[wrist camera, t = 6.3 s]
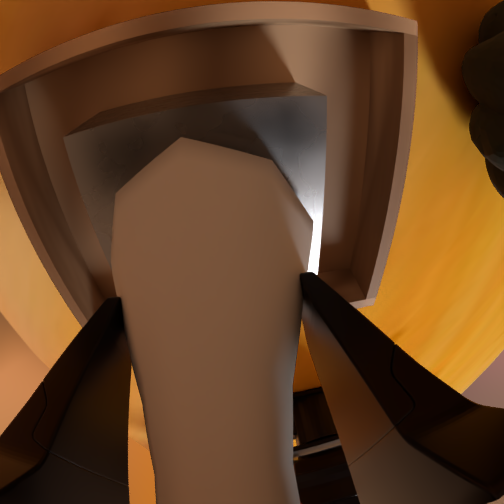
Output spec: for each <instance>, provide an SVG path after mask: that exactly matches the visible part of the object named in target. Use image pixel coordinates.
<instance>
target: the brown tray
mask: <svg viewBox="0 0 504 504" xmlns="http://www.w3.org/2000/svg"><path fill="white" fill-rule="evenodd" d="M417 59H418V26H417V21H415V20H412V19H408V18H404V17H400V16H396V15H391V14H387V13H382V12H377V11H372V10H367V9H361V8H355V7H348V6H340V5H332V4H322V3H309V2H288V1H258V2H236V3H224V4H213V5H205V6H197V7H190V8H184V9H178V10H173V11H167V12H162V13H158V14H153V15H149V16H144V17H140V18H136V19H133V20H129V21H125V22H122V23H118V24H115V25H112V26H108V27H105V28H102V29H99V30H96V31H93V32H91V33H88V34H85V35H82V36H80V37H77V38H75V39H72V40H70V41H67V42H65V43H62V44H60V45H58V46H55V47H53V48H51V49H49V50H47V51H44V52H42V53H40V54H38V55H36V56H34V57H32V58H30V59H28V60H26V61H24V62H23V63H21V64H19V65H17V66H15V67H13V68H12V69H10V70H8V71H6V72H5V73H3V74H1V75H0V172H1V174H2V177H3V180H4V183H5V185H6V188H7V190H8V193H9V195H10V198H11V200H12V202H13V205H14V207H15V209H16V212H17V214H18V216H19V218H20V221H21V223H22V225H23V227H24V229H25V231H26V233H27V235H28V237H29V239H30V241H31V243H32V245H33V247H34V249H35V251H36V253H37V255H38V257H39V259H40V260H41V262H42V264H43V266H44V268H45V269H46V271H47V273H48V275H49V276H50V278H51V280H52V282H53V283H54V285H55V287H56V288H57V290H58V291H59V293H60V295H61V296H62V298H63V299H64V301H65V303H66V304H67V306H68V307H69V309H70V310H71V312H72V313H73V315H74V316H75V318H76V319H77V321H78V322H79V324H80V325H81V326H82V328H83V327H84V325H85V324H86V323H87V322H88V320H89V319H90V318H91V317H92V316H93V314H94V313H95V312H96V311H97V309H98V308H99V307H100V306H101V305H102V303H103V302H104V301H105V300H106V299H107V298H109V297H117V294H116V290H115V285H114V279H113V274H112V270H111V268H110V266H109V263H108V261H107V259H106V257H105V254H104V252H103V250H102V247H101V245H100V243H99V240H98V238H97V235H96V233H95V230H94V228H93V226H92V223H91V220H90V218H89V215H88V213H87V210H86V207H85V205H84V202H83V199H82V196H81V193H80V191H79V188H78V185H77V182H76V179H75V176H74V173H73V170H72V166H71V163H70V160H69V157H68V153H67V150H66V147H65V143H64V139H63V137H64V136H66V135H67V134H68V133H70V132H71V131H72V130H74V129H75V128H77V127H78V126H79V125H81V124H82V123H84V122H85V121H87V120H88V119H90V118H91V117H93V116H94V115H96V114H97V113H99V112H102V111H105V110H109V109H112V108H116V107H120V106H124V105H128V104H132V103H136V102H140V101H145V100H149V99H154V98H159V97H164V96H169V95H174V94H180V93H186V92H192V91H199V90H206V89H213V88H221V87H230V86H240V85H252V84H267V83H290V82H296V83H298V84H301V85H303V86H306V87H308V88H310V89H313V90H315V91H317V92H320V93H322V94H324V95H326V96H327V136H326V165H325V186H324V203H323V217H322V230H321V242H320V254H319V264H318V274H317V276H319V277H320V278H321V279H322V280H323V281H324V282H326V283H327V284H328V285H329V286H330V287H331V288H333V289H334V290H335V291H336V292H337V293H338V294H340V295H341V296H342V297H343V298H344V299H345V300H347V301H348V302H349V303H350V304H351V305H352V306H353V307H355V308H356V309H357V308H361V307H366V306H371V305H374V302H375V299H376V296H377V293H378V289H379V286H380V283H381V279H382V276H383V272H384V269H385V265H386V262H387V258H388V254H389V250H390V247H391V243H392V239H393V235H394V230H395V226H396V222H397V217H398V213H399V208H400V203H401V198H402V193H403V188H404V183H405V177H406V171H407V165H408V159H409V152H410V145H411V137H412V129H413V120H414V110H415V98H416V83H417Z"/></svg>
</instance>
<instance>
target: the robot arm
mask: <svg viewBox="0 0 504 504" xmlns="http://www.w3.org/2000/svg"><path fill="white" fill-rule="evenodd" d="M300 281H301V286H302V292H303V297H304V302H303V310H302V322H303V326H304V331H305V335H306V340H307V344H308V347H309V351H310V354H311V357H312V359H313V362H314V365H315V368H316V371H317V374H318V377H319V380H320V383H321V385H322V388H319V389H315V390H310V391H305V392H300V393H295V394H293V439H296V443H297V446H295V447H293V466H294V472H295V477H296V482H297V488H298V493H299V498H300V502H301V503H302V504H504V409H503V408H496V407H490V406H483V405H480V404H477V403H475V402H473V401H471V400H469V399H467V398H465V397H464V396H462V395H461V394H460V393H458V392H457V391H456V390H454V389H453V388H451V387H450V386H449V385H447V384H446V383H444V382H443V381H442V380H440V379H439V378H437V377H436V376H435V375H433V374H432V373H431V372H429V371H428V370H427V369H425V368H424V367H423V366H421V365H420V364H419V363H418V362H416V361H415V360H414V359H413V358H412V357H411V356H409V355H408V354H407V353H406V352H405V351H404V350H402V349H401V348H400V347H399V346H398V345H397V344H395V343H394V342H393V341H392V340H391V339H390V338H389V337H388V336H387V335H385V334H384V333H383V332H382V331H381V330H380V329H379V328H378V327H376V326H375V325H374V324H373V323H372V322H371V321H370V320H368V319H367V318H366V317H365V316H364V315H363V314H362V313H360V312H359V311H358V310H357V309H356V308H355V307H353V306H352V305H351V304H350V303H349V302H348V301H347V300H345V299H344V298H343V297H342V296H341V295H340V294H338V293H337V292H336V291H335V290H334V289H333V288H331V287H330V286H329V285H328V284H327V283H326V282H324V281H323V280H322V279H321V278H320V277H319V276H317V275H316V274H315V273H314V272H304V273H300ZM394 344H395V345H394ZM131 366H132V362H131V358H130V354H129V349H128V345H127V340H126V336H125V331H124V323H123V315H122V306H121V297H118V296H117V297H109V298H107V299H106V300H105V301H104V302H103V303H102V305H101V306H100V307H99V308H98V309H97V311H96V312H95V313H94V314H93V316H92V317H91V318H90V319H89V320H88V322H87V323H86V324H85V325H84V327H83V328H82V329H81V330H80V332H79V333H78V334H77V335H76V337H75V338H74V339H73V341H72V342H71V343H70V344H69V346H68V347H67V348H66V350H65V351H64V352H63V354H62V355H61V356H60V358H59V359H58V360H57V362H56V363H55V364H54V366H53V367H52V368H51V370H50V371H49V373H48V374H47V375H46V377H45V378H44V380H43V382H41V383H40V385H39V386H38V388H37V389H36V390H35V392H34V393H33V395H32V396H31V397H30V399H29V400H28V401H27V403H26V404H25V406H24V407H23V408H22V409H21V410H20V412H19V413H18V414H17V416H16V417H15V418H14V419H13V421H12V422H11V423H10V424H9V426H8V427H7V428H6V430H5V431H4V432H3V433H2V435H1V436H0V504H130V502H129V486H128V485H129V484H128V418H129V397H130V381H131Z"/></svg>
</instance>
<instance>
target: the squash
mask: <svg viewBox="0 0 504 504" xmlns="http://www.w3.org/2000/svg"><path fill="white" fill-rule="evenodd" d="M462 75H463V78H464V81H465V84H466V86H467V88H468V90H469V92H470V94H471V95H472V96H473V97H474V98H475V99H476V100H477V101H478V102H479V103H480V104H479V105H477V106H476V108H475V109H474V110H473V112H472V115H471V118H470V123H469V131H470V135H471V140H472V141H473V143H474V144H475V145H476V147H477V148H478V149H479V151H480V152H481V154H482V155H483V156H484V157H485V162H486V168H487V171H488V175H489V177H490V180H491V182H492V184H493V186H494V187H495V188H496V190H497V191H498V192H499V194H500V195H501V196H502V197H503V198H504V1H502V2H500V3H498V4H497V5H496V6H494V7H493V8H491V9H490V10H489V11H488V12H487V13H486V15H485V16H484V18H483V19H482V22H481V25H480V28H479V44H478V45H476V46H474V47H473V48H471V49H470V50H469V51H468V52H467V53H466V54H465V57H464V60H463V63H462Z"/></svg>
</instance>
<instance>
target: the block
mask: <svg viewBox="0 0 504 504" xmlns="http://www.w3.org/2000/svg"><path fill="white" fill-rule="evenodd" d="M326 136H327V96H326V95H324V94H322V93H320V92H317V91H315V90H313V89H310V88H308V87H306V86H303V85H301V84H298V83H296V82H290V83H267V84H252V85H240V86H230V87H221V88H213V89H206V90H199V91H192V92H186V93H180V94H174V95H169V96H164V97H159V98H154V99H149V100H145V101H140V102H136V103H132V104H128V105H124V106H120V107H116V108H112V109H109V110H105V111H102V112H99V113H97V114H96V115H94V116H93V117H91V118H90V119H88V120H87V121H85V122H84V123H82V124H81V125H79V126H78V127H77V128H75V129H74V130H72V131H71V132H70V133H68V134H67V135H66V136H64V137H63V139H64V143H65V147H66V150H67V153H68V157H69V160H70V163H71V166H72V170H73V173H74V176H75V179H76V182H77V185H78V188H79V191H80V193H81V196H82V199H83V202H84V205H85V207H86V210H87V213H88V215H89V218H90V220H91V223H92V226H93V228H94V230H95V233H96V235H97V238H98V240H99V243H100V245H101V247H102V250H103V252H104V254H105V257H106V259H107V261H108V263H109V266H110V268H111V270H112V266H111V244H112V228H113V216H114V205H115V196H116V193H117V192H118V191H119V190H120V189H121V188H122V187H123V186H124V185H125V184H126V183H127V182H128V181H130V180H131V179H132V178H133V177H134V176H135V175H136V174H137V173H138V172H140V171H141V170H142V169H143V168H144V167H145V166H146V165H148V164H149V163H150V162H151V161H152V160H153V159H155V158H156V157H157V156H158V155H159V154H161V153H162V152H163V151H164V150H165V149H167V148H168V147H169V146H170V145H172V144H173V143H174V142H175V141H177V140H178V139H179V138H180V137H183V138H188V139H192V140H197V141H201V142H205V143H209V144H214V145H218V146H222V147H226V148H230V149H233V150H237V151H241V152H245V153H248V154H252V155H256V156H259V157H263V158H266V159H270V160H272V161H273V162H274V164H275V165H276V167H277V168H278V170H279V171H280V172H281V174H282V175H283V177H284V178H285V180H286V181H287V182H288V184H289V185H290V187H291V188H292V190H293V191H294V193H295V194H296V196H297V197H298V199H299V200H300V202H301V203H302V205H303V206H304V208H305V209H306V211H307V212H308V214H309V215H310V217H311V218H312V220H313V221H314V223H313V237H312V245H311V252H310V259H309V266H308V272H314V273H315V274H316V275H317V274H318V264H319V254H320V242H321V230H322V217H323V203H324V186H325V165H326Z"/></svg>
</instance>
